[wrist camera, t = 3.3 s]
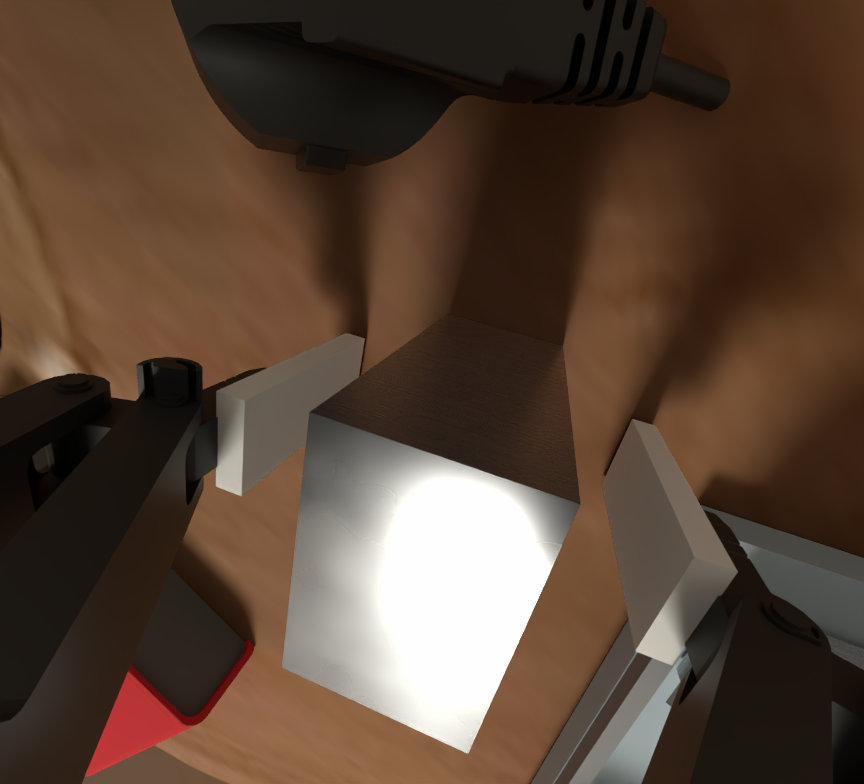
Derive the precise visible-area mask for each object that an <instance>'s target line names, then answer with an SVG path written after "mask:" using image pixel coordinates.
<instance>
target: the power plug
mask: <svg viewBox="0 0 864 784" xmlns="http://www.w3.org/2000/svg"><path fill="white" fill-rule="evenodd" d="M171 2H172V5H173V7H174V10H175V13H176V16H177V18H178V21H179V24H180V26H181V29H182V32H183V34H184V37H185V40H186V43H187V45H188V48H189V51H190V53H191V56H192V59H193V61H194V64H195V66H196V69H197V71H198V73H199V75H200V77H201V79H202V81H203V83H204V85H205V87H206V89H207V90H208V92H209V94H210V95H211V97H212V99H213V100H214V102H215V103H216V105H217V106H218V107H219V109H220V110H221V112H222V113H223V114H224V115H225V117H226V118H227V119H228V120H229V121H230V123H231V124H232V125H233V126H234V127H235V128H236V129H237V130H238V131H239V132H240V133H241V134H242V135H243V136H244V137H245V138H246V139H247V140H249V141H250V142H251V143H252V144H254V145H255V146H256V147H257V148H260V149H266V150H272V151H278V152H283V153H289V154H295V155H296V169H297V170H300V171H306V172H313V173H319V174H325V175H332V174H335V173H338V172H341V171H344V170H345V167H346V163H348V164H354V165H360V166H368V165H371V164H374V163H378V162H381V161H384V160H387V159H390V158H393V157H395V156H397V155H399V154H401V153H402V152H404V151H405V150H407V149H408V148H410V147H411V146H412V145H414V144H415V143H416V142H417V141H419V140H420V139H421V138H422V137H423V136H424V135H425V134H426V133H427V132H428V131H429V130H430V129H431V128H432V127H433V125H434V124H435V123H436V122H437V121H438V119H439V118H440V117H441V116H442V114H443V113H444V112H445V111H446V109H447V108H448V107H449V106H450V105H451V104H452V103H453V102H454V101H455V100H456V99H458V98H460V97H462V96H465V95H476V96H480V97H483V98H487V99H492V100H497V101H503V102H510V103H526V102H529V101H532V102H533V103H534V104H548V103H551V102H554V104H557V105H569V104H573V103H575V105H580V106H590V105H593V104H595V105H596V106H603V107H616V106H620V105H624V104H627V103H631V102H635V101H639V100H642V99H644V98H645V97H646V96H647V95H648V94H649V92H650V91H651V92H654V93H657V94H660V95H663V96H666V97H669V98H671V99H674V100H677V101H680V102H683V103H686V104H689V105H692V106H695V107H698V108H701V109H704V110H707V111H712V110H714V109H717V108H718V107H719V106H720V105H722V104H723V102H724V101H725V100H726V98H727V96H728V94H729V92H730V83H729V81H728V80H727V79H725V78H722V77H720V76H717V75H715V74H712V73H710V72H707V71H705V70H702V69H700V68H697V67H695V66H692V65H690V64H687V63H685V62H682V61H680V60H677V59H675V58H672V57H669V56H667V55H664V54H662V53H661V50H662V46H663V42H664V38H665V34H666V30H667V22H666V20H665V19H664V18H663V17H662V16H661V15H660V14H659V13H658V12H657V11H656V10H655V9H654V8H652V7H647V8H646V2H645V0H171Z"/></svg>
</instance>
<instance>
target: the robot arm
mask: <svg viewBox="0 0 864 784" xmlns="http://www.w3.org/2000/svg"><path fill="white" fill-rule="evenodd" d="M364 341H365V338H362V337H358V336H355V335H352V334H348V333H345V334H343V335H341V336H338V337H336V338H334V339H332V340H329V341H327V342H325V343H323V344H320V345H318V346H316V347H314V348H311V349H309V350H307V351H305V352H303V353H300V354H298V355H296V356H294V357H291V358H289V359H287V360H285V361H282V362H280V363H278V364H276V365H273V366H271V367H269V368H259V369H253V370H248V371H246V372H244V373H241V374H239V375H237V376H236V377H232V378H230V379H227V380H226V381H225V382H224V381H222V382H220V383H218V384H215V385H213V386H211V387H208V388H206V389H204V390H203V384H202V366H201V365H200V364H199V363H197V362H194V361H192V360H188V359H183V358H171V357H164V358H154V359H150V360H146V361H143V362H141V363H139V364H137V365H136V366H137V379H138V391H139V398H138V399H137V400H136V401H131V400H124V399H118V398H111V391H110V382H108V381H107V380H106V379H105V378H102V377H98V376H94V375H86V374H81V373H77V374H76V373H74V374H66V375H64V376H57V377H53V378H50V379H46V380H43V381H41V382H38V383H36V384H34V385H31V386H29V387H27V388H24V389H22V390H20V391H17V392H15V393H12V394H10V395H8V396H5V397H3V398H1V399H0V784H82V782H83V779H84V777H85V774H86V772H87V770H88V767H89V765H90V762H91V760H92V757H93V755H94V753H95V750H96V748H97V745H98V743H99V741H100V738H101V736H102V733H103V731H104V728H105V726H106V724H107V721H108V719H109V716H110V714H111V711H112V709H113V707H114V704H115V702H116V699H117V697H118V695H119V692H120V690H121V687H122V685H123V682H124V680H125V678H126V675H127V673H128V670H129V668H130V665H131V663H132V661H133V658H134V656H135V653H136V651H137V649H138V646H139V644H140V641H141V639H142V636H143V634H144V632H145V629H146V627H147V624H148V622H149V619H150V617H151V615H152V612H153V610H154V607H155V605H156V603H157V600H158V598H159V595H160V593H161V590H162V588H163V586H164V583H165V581H166V578H167V576H168V573H169V571H170V569H171V566H172V564H173V561H174V559H175V557H176V554H177V552H178V549H179V547H180V544H181V542H182V540H183V537H184V535H185V532H186V530H187V527H188V525H189V523H190V520H191V518H192V515H193V513H194V511H195V508H196V506H197V503H198V501H199V498H200V496H201V494H202V491H203V484H204V483H203V476H204V475H206V474H207V473H209V472H210V471H211V470H213V469H214V468H216V487H219V488H221V489H224V490H226V491H229V492H232V493H234V494H237V495H239V496H243V495H244V494H245V493H246V492H247V491H249V490H250V489H251V488H252V487H253V486H255V485H256V484H257V483H258V482H260V481H261V480H262V479H263V478H264V477H266V476H267V475H268V474H269V473H271V472H272V471H273V470H274V469H275V468H277V467H278V466H279V465H280V464H281V463H283V462H284V461H285V460H286V459H288V458H289V457H290V456H291V455H292V454H294V453H295V452H296V451H297V450H298V449H300V448H301V447H302V446H303V445H305V444H306V439H307V430H308V421H309V412H310V411H312V410H313V409H314V408H316V407H317V406H319V405H320V404H321V403H323V402H324V401H326V400H327V399H329V398H330V397H331V396H333V395H334V394H336V393H337V392H338V391H340V390H341V389H343V388H344V387H346V386H347V385H348V384H350V383H351V382H353V381H354V380H355V379H357V378H358V377H359V373H360V367H361V360H362V354H363V347H364ZM43 447H45V450H46V455H47V460H48V465H46V466H45V467H43V468H41V469H39V470H36V469H35V467H34V462H33V457H32V456H33V455H34V454H36V453H37V452H38V451H39V450H40V449H42V448H43ZM602 490H603V495H604V500H605V504H606V509H607V514H608V519H609V524H610V529H611V534H612V539H613V544H614V549H615V554H616V559H617V564H618V569H619V574H620V579H621V584H622V589H623V594H624V599H625V603H626V608H627V613H628V618H629V623H630V628H631V633H632V638H633V643H634V648H635V651H636V652H639V653H641V654H644V655H646V656H649V657H651V658H654V659H656V660H659V661H661V662H664V663H666V664H669V665H673V664H674V662H675V661H676V659H677V658H678V657H679V655H680V654H681V652H682V651H683V649H684V648H685V647H686V650H687V653H688V656H689V659H690V662H691V665H692V667H691V668H690V669H689V671H688V672H687V673H686V675H685V676H684V678H683V679H682V680H681V682H680V683H679V684H678V686H677V687H676V688H675V690H674V691H673V693H672V694H671V695H670V697H669V698H668V699H667V701H666V703H667V704H668V705H670V706H672V707H671V709H670V712H669V714H668V717H667V719H666V722H665V724H664V727H663V730H662V732H661V735H660V737H659V740H658V742H657V745H656V748H655V750H654V753H653V755H652V758H651V760H650V763H649V765H648V768H647V771H646V773H645V776H644V778H643V781H642V783H641V784H864V670H863V669H861V668H859V667H857V666H856V665H854V664H852V663H850V662H848V661H847V660H845V659H843V658H841V657H839V656H838V655H836V654H834V653H832V652H831V646H830V643H829V641H828V638H827V637H826V635H825V634H824V633H823V631H822V630H821V629H820V627H819V626H818V625H817V624H816V623H815V622H814V621H813V620H811V619H810V618H809V617H808V616H807V615H806V614H805V613H804V612H802V611H801V610H799V609H798V608H797V607H795V606H794V605H792V604H791V603H789V602H788V601H786V600H784V599H782V598H780V597H778V596H776V595H774V594H772V593H771V592H770V591H769V589H768V587H767V586H766V584H765V583H764V581H763V579H762V578H761V576H760V575H759V573H758V571H757V570H756V568H755V567H754V565H753V563H752V562H751V560H750V559H748V558H747V557H748V555H747V554H746V552H745V550H744V549H743V547H742V546H740V542H739V541H738V539H737V538H736V536H735V534H734V533H733V531H732V530H731V528H730V527H729V526H728V525H726V524H725V523H724V522H723V521H722V520H721V519H720V518H719V517H718V516H717V515H716V514H715V513H712V512H709V511H706V510H703V509H702V507H701V505H700V504H699V502H698V500H697V498H696V496H695V495H694V493H693V491H692V489H691V487H690V486H689V484H688V482H687V480H686V479H685V477H684V475H683V473H682V471H681V470H680V468H679V466H678V464H677V463H676V461H675V459H674V457H673V455H672V454H671V452H670V450H669V448H668V447H667V445H666V443H665V441H664V439H663V438H662V436H661V434H660V432H659V431H658V429H657V427H656V426H655V425H651V424H648V423H645V422H641V421H638V420H635V419H632V421H631V423H630V425H629V427H628V429H627V431H626V433H625V436H624V438H623V440H622V442H621V444H620V446H619V448H618V451H617V453H616V455H615V457H614V459H613V461H612V463H611V466H610V468H609V470H608V472H607V474H606V476H605V478H604V481H603V483H602Z"/></svg>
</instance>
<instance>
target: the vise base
mask: <svg viewBox="0 0 864 784" xmlns="http://www.w3.org/2000/svg"><path fill="white" fill-rule="evenodd" d="M701 507H702V509H703V510H706V511H709V512H712V513H715V514H716V515H717V516H718V517H719V518H720V519H721V520H722V521H723V522H724V523H725V524H726V525H728V526H729V527H730V528H731V530H732V531H733V533H734V534H735V536H736V538H737V539H738V541H739V542H740V546H742V547H743V549H744V550H745V552H746V554H747V555H748V557H747V558H748V559H750V560H751V562H752V563H753V565H754V567H755V568H756V570H757V571H758V573H759V575H760V576H761V578H762V579H763V581H764V583H765V584H766V586H767V587H768V589H769V591H770V592H771V593H772V594H774V595H776V596H778V597H780V598H782V599H784V600H786V601H788V602H789V603H791V604H792V605H794V606H795V607H797V608H798V609H799V610H801V611H802V612H804V613H805V614H806V615H807V616H808V617H809V618H810V619H811V620H813V621H814V622H815V623H816V624H817V625H818V626H819V627H820V629H821V630H822V631H823V633H824V634H825V635H828V636H830V637H833V638H836V639H839V640H841V641H844V642H847V643H850V644H853V645H855V646H858V647H861V648H864V558H862V557H859V556H856V555H853V554H850V553H847V552H844V551H841V550H838V549H835V548H832V547H829V546H825V545H822V544H819V543H816V542H813V541H810V540H807V539H804V538H801V537H798V536H795V535H792V534H789V533H786V532H783V531H779V530H776V529H773V528H770V527H767V526H764V525H761V524H758V523H755V522H752V521H749V520H746V519H743V518H740V517H736V516H733V515H730V514H727V513H724V512H721V511H718V510H715V509H712V508H709V507H706V506H703V505H701ZM686 654H687V650H686V647H685V648H684V649H683V651H682V652H681V654H680V655H679V657H678V658H677V659H676V661H675V662H674V664H673V665H669V664H666V663H664V662H661V661H659V660H656V659H654V658H651V657H649V656H646V655H644V654H641V653H639V652H636V651H635V648H634V643H633V638H632V633H631V628H630V623H629V619H628V621H627V622H626V624H625V626H624V628H623V629H622V631H621V633H620V634H619V636H618V638H617V639H616V641H615V643H614V644H613V646H612V648H611V649H610V651H609V653H608V654H607V656H606V658H605V660H604V661H603V663H602V665H601V666H600V668H599V670H598V671H597V673H596V675H595V676H594V678H593V680H592V681H591V683H590V685H589V686H588V688H587V690H586V692H585V693H584V695H583V697H582V698H581V700H580V702H579V703H578V705H577V707H576V708H575V710H574V712H573V713H572V715H571V717H570V718H569V720H568V722H567V724H566V725H565V727H564V729H563V730H562V732H561V734H560V735H559V737H558V739H557V740H556V742H555V744H554V745H553V747H552V749H551V750H550V752H549V754H548V756H547V757H546V759H545V761H544V762H543V764H542V766H541V767H540V769H539V771H538V772H537V774H536V776H535V777H534V779H533V781H532V782H531V784H641V783H642V781H643V778H644V776H645V773H646V771H647V768H648V765H649V763H650V760H651V758H652V755H653V753H654V750H655V748H656V745H657V742H658V740H659V737H660V735H661V732H662V730H663V727H664V724H665V722H666V719H667V717H668V714H669V712H670V709H671V707H672V706H670V705H668V704H667V703H666V701H667V699H668V698H669V697H670V695H671V694H672V693H673V691H674V690H675V688H676V687H677V686H678V684H679V683H680V679H679V676H678V672H677V669H676V668H677V666H678V665H679V663H680V662H681V661H682V659H683V658H684V656H685V655H686Z"/></svg>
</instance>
